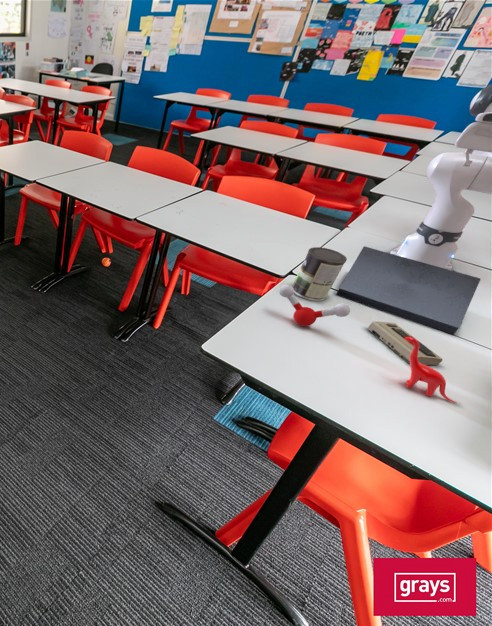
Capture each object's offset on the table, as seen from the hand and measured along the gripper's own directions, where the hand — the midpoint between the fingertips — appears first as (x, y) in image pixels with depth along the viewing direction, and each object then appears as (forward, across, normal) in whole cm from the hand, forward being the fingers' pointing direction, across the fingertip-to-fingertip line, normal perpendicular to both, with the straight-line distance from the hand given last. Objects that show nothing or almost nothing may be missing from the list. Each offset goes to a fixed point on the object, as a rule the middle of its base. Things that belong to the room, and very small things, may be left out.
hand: (486, 169), depth 124 cm
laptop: (+41, +2, +16) cm, 44 cm away
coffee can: (+42, +24, +32) cm, 58 cm away
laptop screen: (+34, +3, +17) cm, 39 cm away
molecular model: (+45, +21, +54) cm, 73 cm away
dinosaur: (+46, -7, +63) cm, 78 cm away
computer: (+44, -2, +45) cm, 63 cm away
